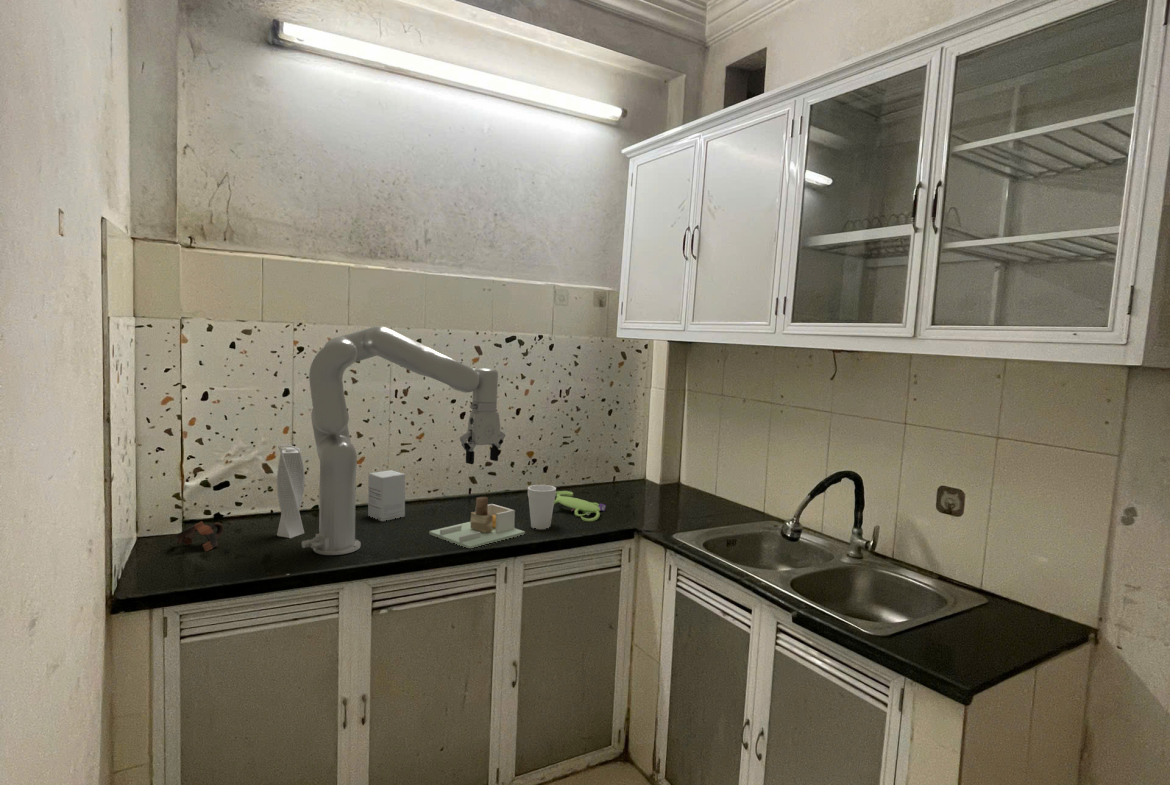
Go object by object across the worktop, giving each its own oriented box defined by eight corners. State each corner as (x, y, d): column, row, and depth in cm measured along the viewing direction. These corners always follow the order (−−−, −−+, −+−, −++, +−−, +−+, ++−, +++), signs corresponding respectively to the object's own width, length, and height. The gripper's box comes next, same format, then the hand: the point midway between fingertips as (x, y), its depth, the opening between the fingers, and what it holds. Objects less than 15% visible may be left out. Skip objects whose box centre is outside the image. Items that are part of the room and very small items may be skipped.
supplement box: (391, 511, 221) (391, 469, 220) (405, 517, 215) (406, 473, 214) (367, 516, 214) (367, 472, 213) (381, 522, 209) (382, 477, 207)
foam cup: (542, 520, 217) (543, 483, 216) (560, 527, 210) (561, 488, 209) (520, 525, 210) (521, 487, 209) (538, 532, 204) (539, 492, 203)
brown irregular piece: (198, 557, 171) (182, 531, 170) (181, 565, 176) (165, 540, 175) (236, 534, 182) (221, 510, 181) (219, 543, 186) (204, 519, 185)
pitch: (469, 549, 184) (470, 526, 184) (429, 534, 197) (429, 512, 197) (524, 534, 201) (525, 512, 200) (484, 521, 214) (484, 500, 213)
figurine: (556, 501, 246) (557, 487, 246) (617, 512, 233) (617, 498, 232) (528, 511, 231) (529, 495, 230) (591, 524, 217) (592, 508, 216)
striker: (484, 533, 196) (484, 501, 196) (469, 528, 201) (470, 497, 200) (492, 530, 199) (493, 499, 198) (478, 526, 204) (479, 495, 203)
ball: (503, 517, 204) (500, 529, 203) (495, 514, 207) (492, 526, 206) (494, 515, 201) (491, 528, 200) (486, 513, 204) (483, 525, 203)
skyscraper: (289, 540, 186) (289, 446, 184) (270, 536, 189) (270, 443, 187) (309, 533, 194) (310, 442, 192) (290, 529, 196) (291, 440, 194)
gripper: (469, 410, 188) (467, 466, 189) (513, 407, 201) (510, 461, 202) (454, 407, 193) (452, 462, 194) (497, 405, 206) (495, 457, 207)
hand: (482, 462), depth 198 cm, fingers open, 9 cm apart
